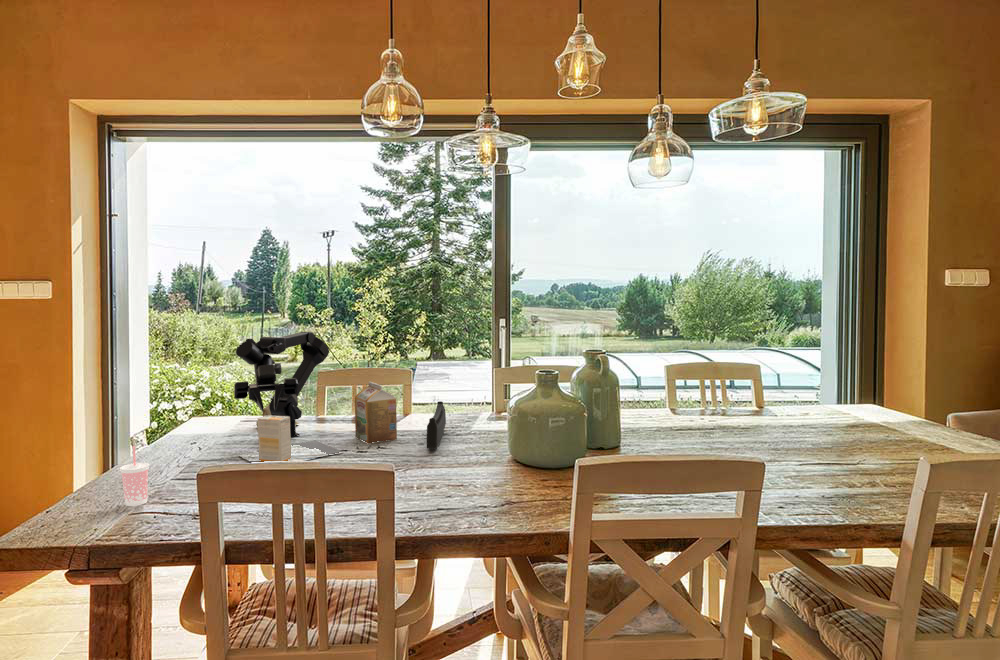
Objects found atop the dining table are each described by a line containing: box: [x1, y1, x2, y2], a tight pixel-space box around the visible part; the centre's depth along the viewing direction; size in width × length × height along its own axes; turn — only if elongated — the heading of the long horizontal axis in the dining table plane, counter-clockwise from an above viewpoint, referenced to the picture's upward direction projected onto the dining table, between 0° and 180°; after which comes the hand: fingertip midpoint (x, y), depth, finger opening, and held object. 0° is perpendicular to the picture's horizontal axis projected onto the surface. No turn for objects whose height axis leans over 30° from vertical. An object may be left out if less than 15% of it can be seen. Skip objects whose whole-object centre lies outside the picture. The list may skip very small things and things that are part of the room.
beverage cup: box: [119, 445, 150, 507], centre depth 146 cm, size 6×6×14 cm
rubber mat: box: [249, 439, 344, 463], centre depth 188 cm, size 19×25×1 cm
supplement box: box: [257, 415, 292, 462], centre depth 179 cm, size 8×5×13 cm, turn 71°
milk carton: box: [354, 381, 398, 444], centre depth 207 cm, size 11×11×19 cm
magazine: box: [425, 400, 447, 450], centre depth 204 cm, size 17×3×30 cm
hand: (269, 410), depth 189 cm, fingers open, 3 cm apart
